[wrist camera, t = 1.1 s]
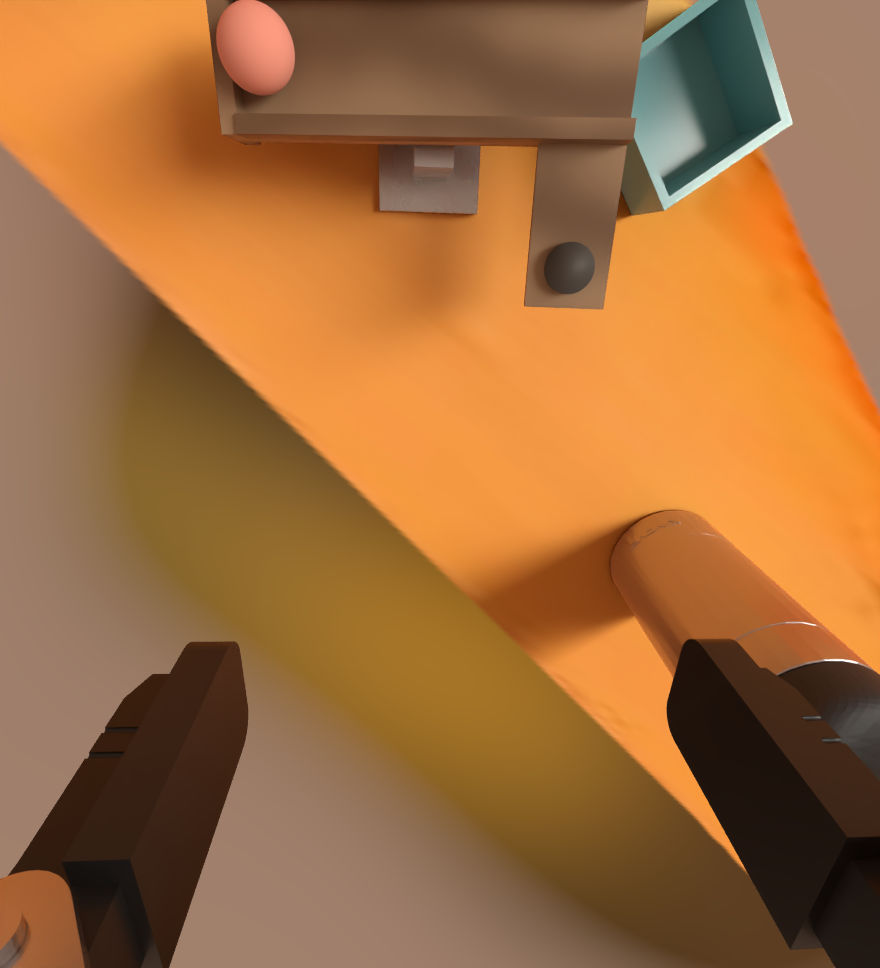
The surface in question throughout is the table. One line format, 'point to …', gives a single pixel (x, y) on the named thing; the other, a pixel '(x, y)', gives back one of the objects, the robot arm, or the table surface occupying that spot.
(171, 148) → the table surface
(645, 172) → the teal square bin
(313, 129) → the lever
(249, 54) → the ball
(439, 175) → the fulcrum
